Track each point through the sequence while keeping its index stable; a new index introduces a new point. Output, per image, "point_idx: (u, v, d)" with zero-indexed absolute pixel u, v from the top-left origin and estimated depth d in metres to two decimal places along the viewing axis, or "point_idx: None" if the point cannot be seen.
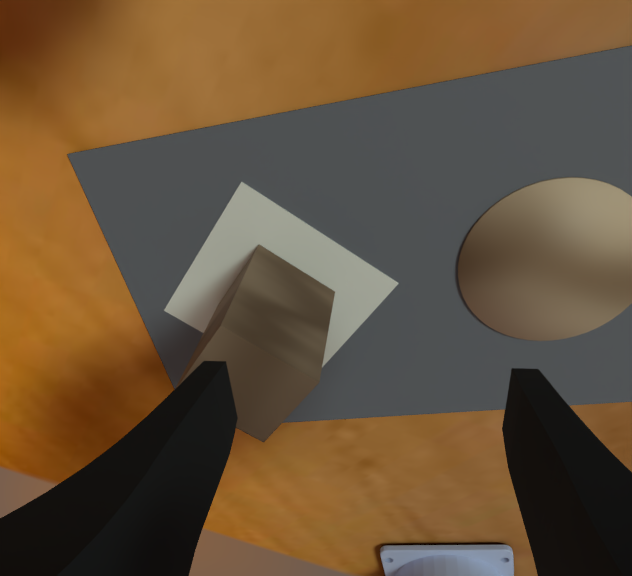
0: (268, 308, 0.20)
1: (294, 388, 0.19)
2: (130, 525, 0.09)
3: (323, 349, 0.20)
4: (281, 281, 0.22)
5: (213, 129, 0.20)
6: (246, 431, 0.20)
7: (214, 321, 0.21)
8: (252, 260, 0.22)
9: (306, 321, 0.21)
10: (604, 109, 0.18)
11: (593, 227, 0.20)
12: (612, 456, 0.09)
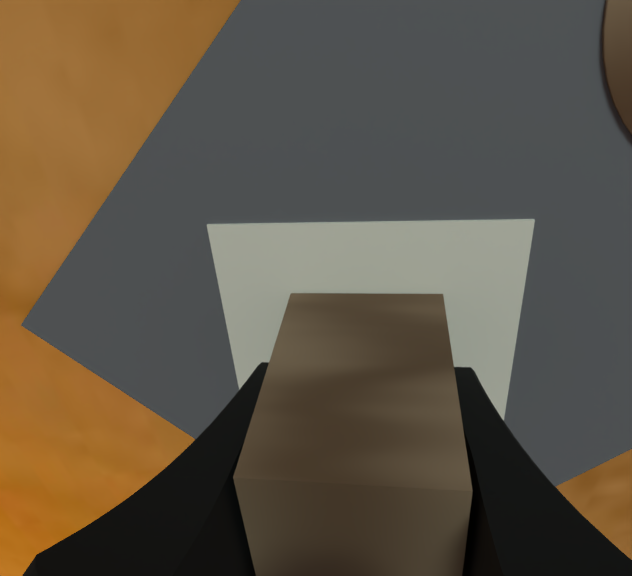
0: (325, 389, 0.11)
1: (436, 520, 0.09)
2: (216, 531, 0.09)
3: (456, 410, 0.10)
4: (341, 329, 0.13)
5: (126, 181, 0.13)
6: None
7: None
8: (283, 323, 0.13)
9: (404, 375, 0.11)
10: None
11: None
12: (522, 452, 0.10)
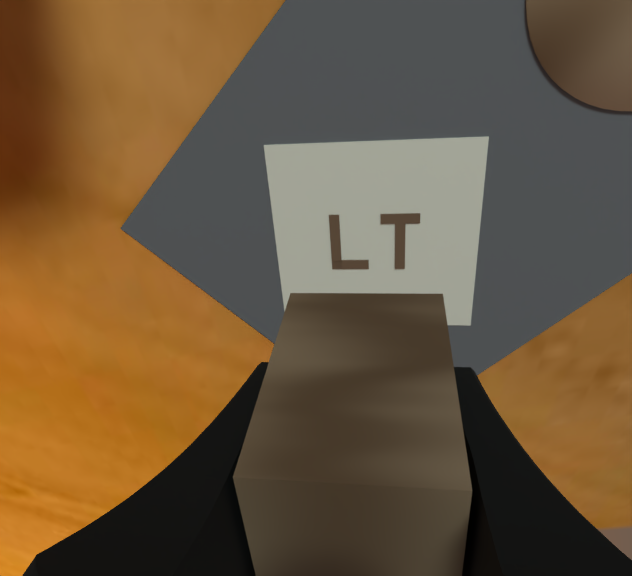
0: (325, 389, 0.11)
1: (436, 520, 0.09)
2: (216, 531, 0.09)
3: (456, 410, 0.10)
4: (340, 329, 0.13)
5: (208, 114, 0.19)
6: None
7: None
8: (283, 323, 0.13)
9: (404, 375, 0.11)
10: None
11: None
12: (522, 452, 0.10)
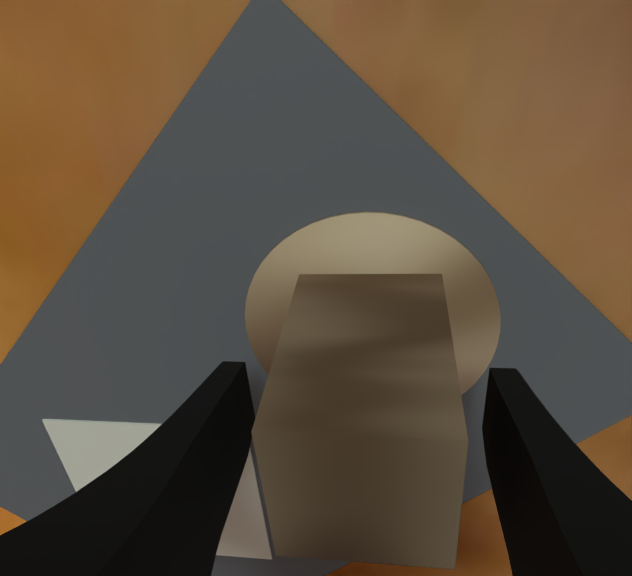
0: (333, 357, 0.12)
1: (435, 469, 0.10)
2: (158, 527, 0.09)
3: (454, 374, 0.11)
4: (347, 305, 0.13)
5: None
6: (416, 564, 0.12)
7: None
8: (293, 301, 0.14)
9: (406, 344, 0.12)
10: (242, 155, 0.14)
11: (362, 268, 0.15)
12: (582, 454, 0.09)
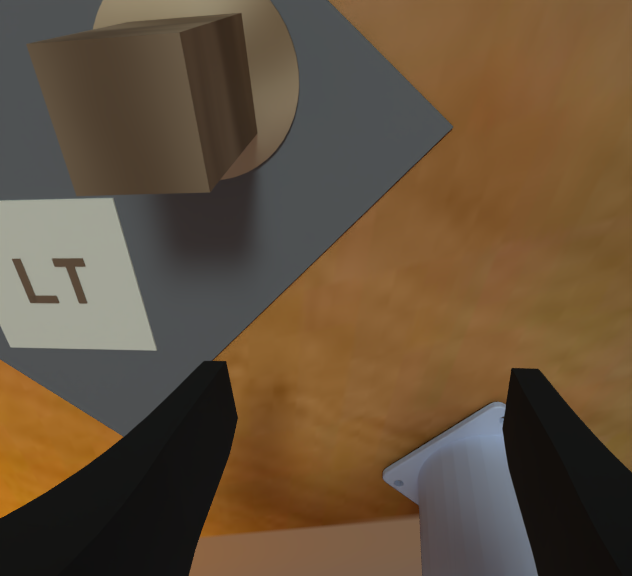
0: (117, 30, 0.15)
1: (165, 70, 0.13)
2: (130, 525, 0.09)
3: (200, 25, 0.14)
4: (151, 22, 0.16)
5: None
6: (180, 190, 0.15)
7: None
8: (112, 26, 0.17)
9: (178, 23, 0.15)
10: None
11: (178, 11, 0.18)
12: (612, 456, 0.09)
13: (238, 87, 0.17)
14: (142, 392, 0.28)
